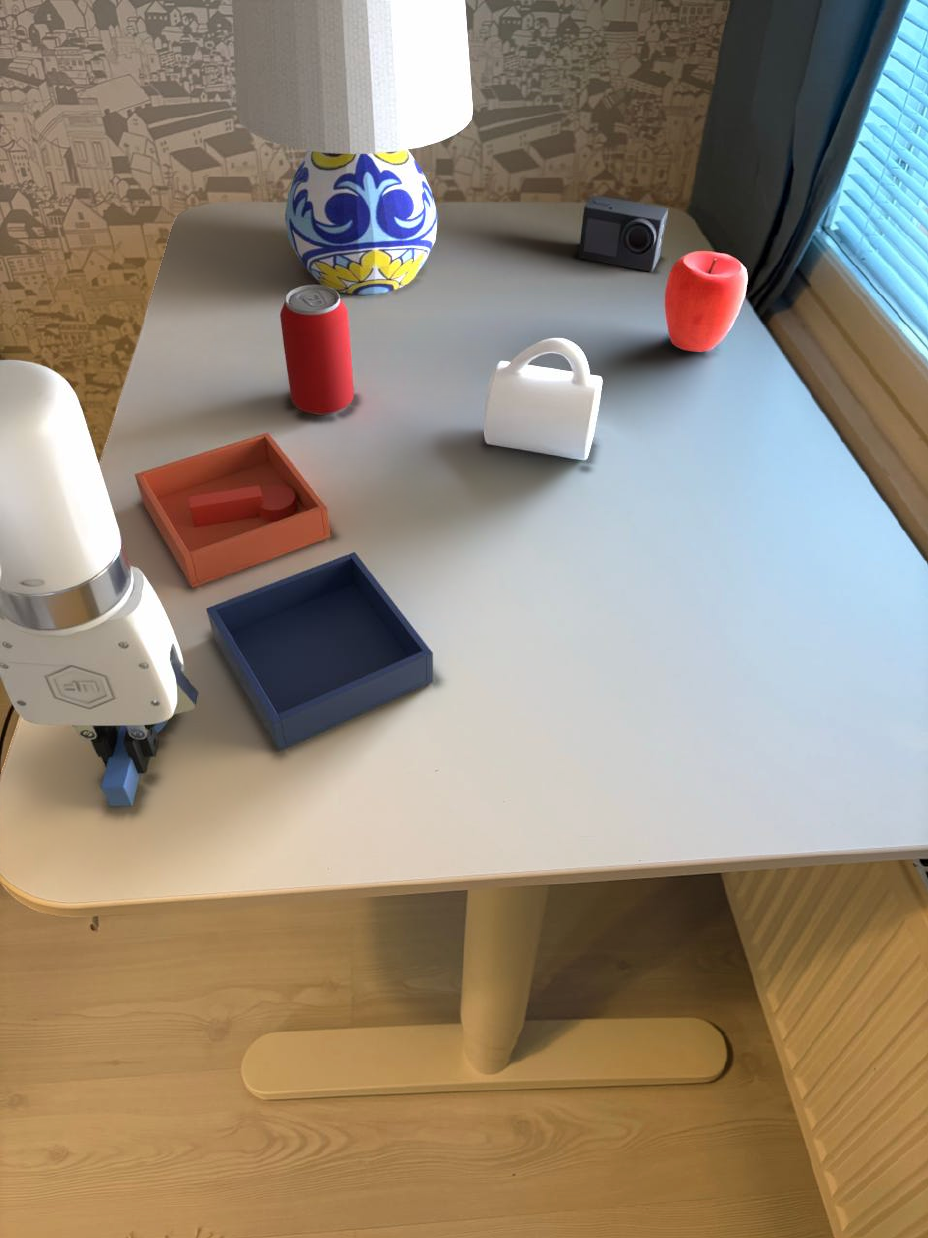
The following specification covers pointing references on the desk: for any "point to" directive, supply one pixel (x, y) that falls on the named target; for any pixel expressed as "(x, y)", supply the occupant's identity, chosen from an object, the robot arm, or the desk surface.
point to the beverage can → (317, 349)
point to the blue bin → (319, 648)
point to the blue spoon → (122, 773)
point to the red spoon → (243, 505)
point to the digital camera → (622, 232)
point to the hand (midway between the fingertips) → (131, 756)
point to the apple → (703, 299)
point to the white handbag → (543, 403)
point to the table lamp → (355, 123)
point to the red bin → (235, 541)
